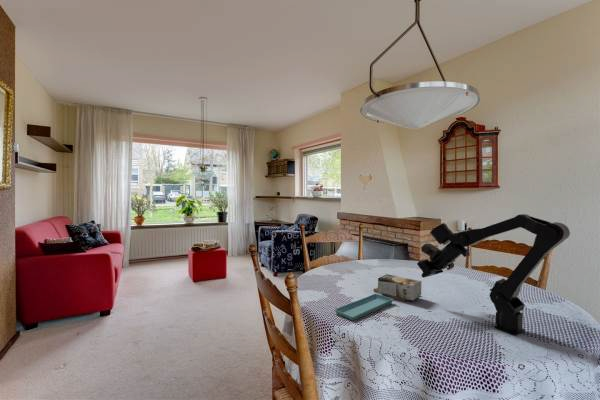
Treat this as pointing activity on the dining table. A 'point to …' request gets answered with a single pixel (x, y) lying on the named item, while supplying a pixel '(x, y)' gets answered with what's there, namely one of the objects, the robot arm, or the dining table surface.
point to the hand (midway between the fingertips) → (422, 276)
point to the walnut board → (391, 295)
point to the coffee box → (399, 286)
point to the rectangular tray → (363, 306)
